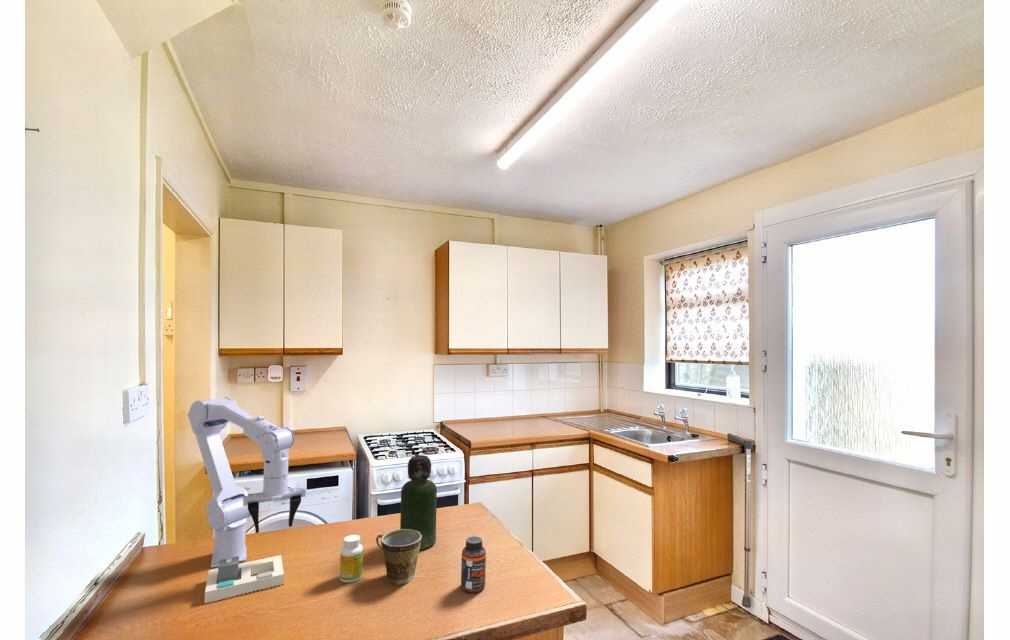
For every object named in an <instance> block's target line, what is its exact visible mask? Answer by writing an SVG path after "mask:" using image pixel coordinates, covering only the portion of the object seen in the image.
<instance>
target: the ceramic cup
mask: <svg viewBox="0 0 1010 640" xmlns="http://www.w3.org/2000/svg"><path fill="white" fill-rule="evenodd" d="M379 538H380V542H379ZM375 543H376V544H377V546H378V547H379V549H380V550H381V551H382V555H383V558H384V563H385V564H384V565H385V570H386V571H385V572H386V578H387V582H388V583H390V584H394V585H397V586H399V585H405V584H408V583H410V582H411V581H412V580H414V578H415V574H416V570H417V569H416V568H417V564H418V557H419V553H420V550H419V549H420V544H421V534H420V533H419V532H418V531H415V530H411V529H395V530H391V531H388V532H387V533H385V534H379V535H377V536H376V539H375Z"/></svg>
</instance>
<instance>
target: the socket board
mask: <svg viewBox="0 0 1010 640" xmlns="http://www.w3.org/2000/svg"><path fill="white" fill-rule="evenodd" d="M282 560H283V559H282V555H281V554H279V555H275V556H271V557H266V558H261V559H256V560H250V561H246V562H242V563H239V568H238V578H239V577H241V578H239V579H238V580H234V579H233V580H229V581H224V582H220V583H219V584H218V568H217V567H216V568H212V569H209V570H208V571H207V572H208V573H207V574H208V575H207V577H206V578H207V579H206V585H205V591H204V604H208V603H213V602H216V601H220V600H225V599H229V598H234V597H237V595H238V596H241V594H242V595H246V594H245V593H247V594H250V593H249V592H251V593H254V592H253V591H255V592H257V591H256V590H259V591H262V590H261V589H263V590H267V589H271V588H270V587H272V588H275V587H274V586H276V587H279V586H278V585H280V586H283V585H282V584H284V583H285V582H284V580H285V579H284V577H285V572H284V566H283V565H284V564H283V561H282ZM272 570H273V571H272ZM267 571H269V572H267ZM263 572H265V573H263ZM259 573H260V574H259ZM253 574H257V575H253ZM251 575H252V576H251ZM266 588H267V589H266Z"/></svg>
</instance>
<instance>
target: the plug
mask: <svg viewBox="0 0 1010 640" xmlns="http://www.w3.org/2000/svg"><path fill="white" fill-rule="evenodd" d="M239 564H240V562H239V556H237V557H232V558H227V559H222V560H220V562H219V566H217V567H218V583H217V584H219V583H220V582H224V581H229V580H233V579H234V580H239V579H238V568H239Z"/></svg>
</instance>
